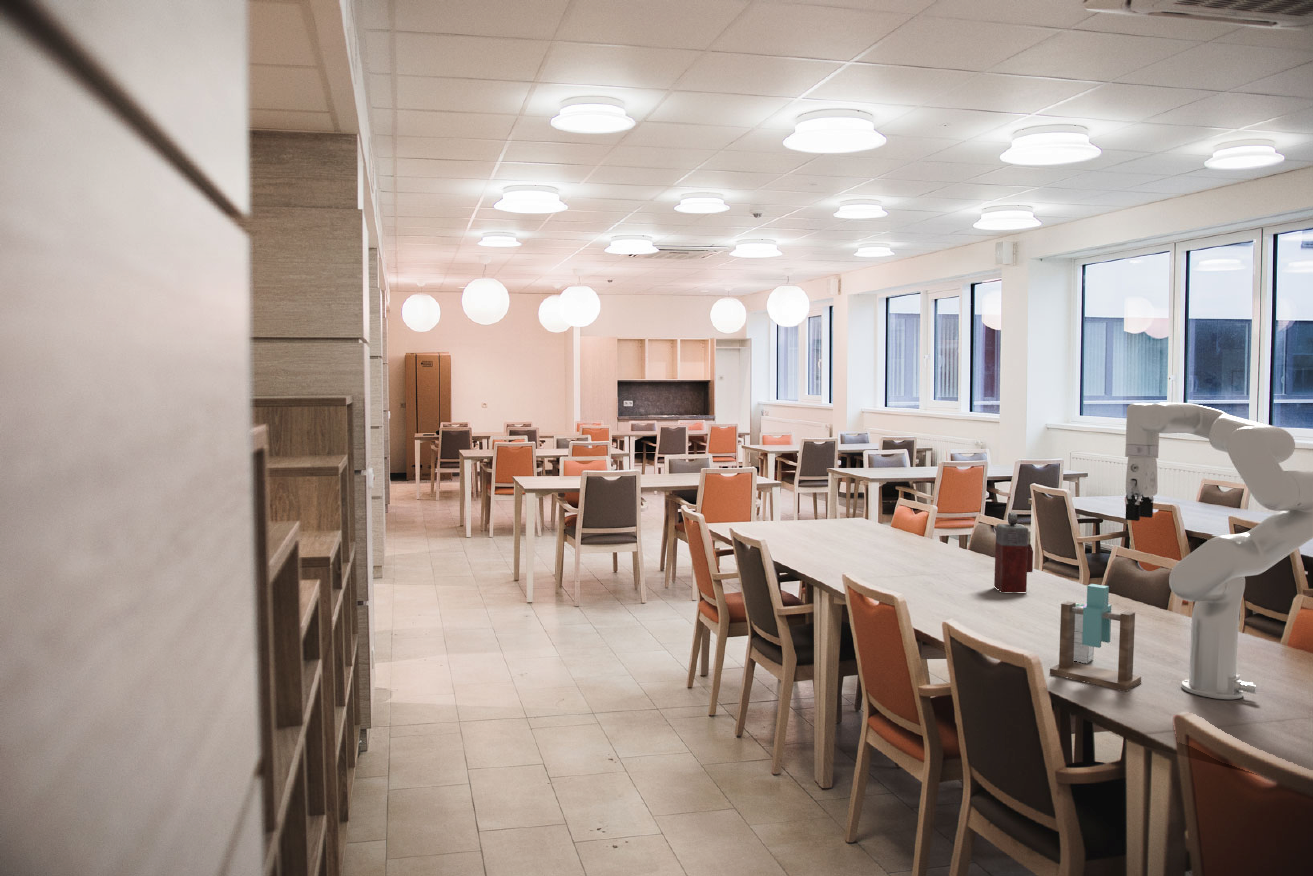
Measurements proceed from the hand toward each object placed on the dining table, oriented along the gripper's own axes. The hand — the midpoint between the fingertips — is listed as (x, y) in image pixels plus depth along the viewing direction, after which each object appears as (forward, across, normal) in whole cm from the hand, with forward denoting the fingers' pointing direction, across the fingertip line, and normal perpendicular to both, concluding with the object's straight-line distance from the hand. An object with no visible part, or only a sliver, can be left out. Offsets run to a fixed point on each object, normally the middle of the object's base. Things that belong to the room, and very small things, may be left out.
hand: (1139, 518), depth 240 cm
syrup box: (+38, -4, +12) cm, 41 cm away
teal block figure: (+30, -18, +3) cm, 35 cm away
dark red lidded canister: (+38, +70, +63) cm, 102 cm away
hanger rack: (+38, -18, +3) cm, 42 cm away
